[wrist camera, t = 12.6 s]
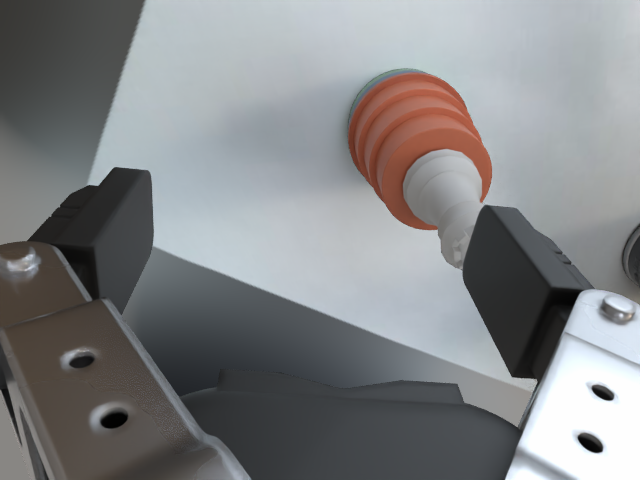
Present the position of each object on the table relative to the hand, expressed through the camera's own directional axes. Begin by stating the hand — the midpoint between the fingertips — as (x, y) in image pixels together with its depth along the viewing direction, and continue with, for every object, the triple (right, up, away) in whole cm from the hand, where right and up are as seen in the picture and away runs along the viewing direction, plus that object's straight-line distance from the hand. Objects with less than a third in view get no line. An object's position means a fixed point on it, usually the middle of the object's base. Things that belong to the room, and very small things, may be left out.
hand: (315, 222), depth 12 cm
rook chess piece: (+7, +3, +18) cm, 19 cm away
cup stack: (+7, +9, +28) cm, 30 cm away
